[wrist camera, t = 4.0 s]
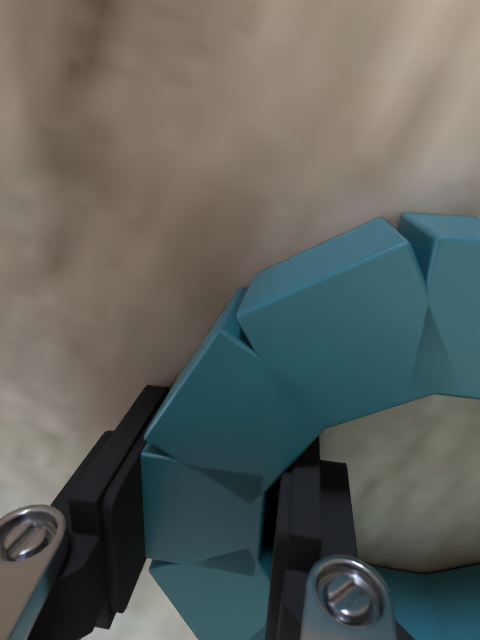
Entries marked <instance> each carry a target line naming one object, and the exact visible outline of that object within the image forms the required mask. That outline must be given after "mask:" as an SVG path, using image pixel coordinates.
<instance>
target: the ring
mask: <svg viewBox="0 0 480 640" xmlns="http://www.w3.org/2000/svg"><path fill="white" fill-rule="evenodd" d="M432 394H438V395H446V396H455V397H463V398H472V399H480V217H470V216H455V215H440V214H425V213H410V212H406V213H403V214H402V215H401V217H400V223H399V228H398V231H397V230H395V229H394V228H393V227H392V226H391V225H390V224H389V223H388V222H387V221H385V220H384V219H383V218H382V217H378V218H376V219H374V220H372V221H369V222H367V223H365V224H363V225H361V226H358V227H356V228H354V229H352V230H350V231H348V232H345V233H343V234H341V235H339V236H337V237H334V238H332V239H330V240H328V241H326V242H324V243H321V244H319V245H317V246H315V247H313V248H310V249H308V250H306V251H304V252H302V253H299V254H297V255H295V256H293V257H291V258H289V259H286V260H284V261H282V262H280V263H278V264H275V265H273V266H271V267H269V268H267V269H265V270H262V271H260V272H258V273H256V274H255V275H254V277H253V279H252V282H251V284H250V286H249V288H248V289H246V288H245V287H239V288H238V290H237V291H236V293H235V294H234V295H233V297H232V298H231V300H230V301H229V303H228V304H227V306H226V307H225V309H224V310H223V312H222V313H221V315H220V316H219V317H218V319H217V320H216V322H215V323H214V325H213V326H212V328H211V329H210V331H209V332H208V334H207V335H206V336H205V338H204V339H203V341H202V342H201V344H200V345H199V347H198V348H197V350H196V351H195V353H194V354H193V355H192V357H191V358H190V360H189V361H188V363H187V364H186V366H185V367H184V369H183V370H182V372H181V373H180V375H179V376H178V378H177V380H176V381H175V383H174V385H173V386H172V388H171V390H170V391H169V393H168V395H167V396H166V398H165V400H164V401H163V403H162V405H161V407H160V408H159V410H158V412H157V413H156V415H155V417H154V418H153V420H152V422H151V423H150V425H149V427H148V428H147V430H146V432H145V433H144V439H145V441H147V443H146V445H145V447H144V449H143V450H142V452H141V477H142V497H143V517H144V537H145V557H146V558H149V559H153V560H152V562H151V565H150V567H149V572H150V574H151V575H152V577H153V578H154V579H155V581H156V582H157V583H158V585H159V586H160V588H161V589H162V590H163V592H164V593H165V594H166V596H167V597H168V599H169V600H170V601H171V603H172V604H173V605H174V607H175V608H176V610H177V611H178V612H179V614H180V615H181V616H182V618H183V619H184V621H185V622H186V623H187V625H188V626H189V627H190V629H191V630H192V632H193V633H194V634H195V636H196V637H197V638H198V640H265V631H266V621H267V610H268V600H269V589H270V579H271V568H272V558H273V547H274V537H275V526H276V515H277V505H278V494H279V492H278V490H277V488H276V486H275V485H274V483H275V482H276V481H277V480H278V478H279V477H280V476H281V475H282V473H284V472H285V471H286V470H287V469H288V468H289V467H290V466H291V465H292V464H293V462H294V461H295V460H296V459H297V458H298V457H299V456H300V455H301V454H302V453H303V452H304V451H305V450H306V449H307V448H308V446H309V445H310V444H311V443H312V442H313V441H314V440H315V439H316V438H317V437H318V436H319V435H320V434H321V433H322V432H323V430H324V429H326V428H329V427H332V426H335V425H338V424H342V423H345V422H348V421H351V420H354V419H357V418H360V417H363V416H367V415H370V414H373V413H376V412H379V411H382V410H385V409H389V408H392V407H395V406H398V405H401V404H404V403H407V402H410V401H414V400H417V399H420V398H423V397H426V396H429V395H432ZM372 567H373V568H374V569H375V570H376V571H377V572H378V573H379V574H380V575H381V576H382V577H383V578H384V580H385V582H386V584H387V585H388V587H389V589H390V591H391V595H392V599H393V603H394V614H395V620H396V621H397V622H398V623H399V624H400V625H401V626H402V627H403V628H404V629H405V630H406V631H407V632H408V633H409V634H410V635H411V636H412V637H413V638H414V639H415V640H480V564H478V565H473V566H468V567H463V568H458V569H453V570H448V571H443V572H437V573H432V574H427V575H423V574H417V573H411V572H405V571H399V570H393V569H387V568H381V567H376V566H372Z"/></svg>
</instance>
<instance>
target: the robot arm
mask: <svg viewBox="0 0 480 640" xmlns="http://www.w3.org/2000/svg"><path fill="white" fill-rule="evenodd" d="M169 391H170V390H169V388H168V387H161V386H153V385H147V386H146V387H145V388H144V390H143V391H142V392H141V394H140V395H139V397H138V398H137V399H136V401H135V402H134V404H133V405H132V407H131V408H130V409H129V411H128V412H127V414H126V415H125V416H124V418H123V419H122V421H121V422H120V424H119V425H118V426H117V428H116V429H115V431H110V430H109V431H106V432H105V433H104V434H103V435H102V436H101V437H100V439H99V440H98V441H97V443H96V444H95V446H94V447H93V448H92V450H91V451H90V452H89V454H88V455H87V456H86V458H85V459H84V460H83V462H82V463H81V464H80V466H79V467H78V469H77V470H76V471H75V473H74V474H73V475H72V477H71V478H70V479H69V481H68V482H67V483H66V485H65V486H64V487H63V489H62V490H61V491H60V493H59V494H58V496H57V497H56V498H55V500H54V501H53V502H52V504H51V505H50V506H48V505H30V506H26V507H22V508H19V509H17V510H15V511H12V512H10V513H8V514H6V515H5V516H3V517H2V518H1V519H0V640H81V638H83V637H85V636H86V635H88V634H90V633H91V632H92V631H93V629H94V627H99V628H104V629H110V626H111V624H112V621H113V619H114V617H115V614H116V612H118V613H123V612H124V611H125V610H126V607H127V605H128V603H129V600H130V598H131V595H132V593H133V590H134V588H135V585H136V583H137V581H138V578H139V576H140V573H141V571H142V568H143V566H144V563H145V561H146V557H145V537H144V517H143V497H142V477H141V452H142V450H143V449H144V447H145V445H146V443H147V441H145V439H144V433H145V432H146V430H147V428H148V427H149V425H150V423H151V422H152V420H153V418H154V417H155V415H156V413H157V412H158V410H159V408H160V407H161V405H162V403H163V401H164V400H165V398H166V396H167V395H168V393H169ZM265 640H415V639H414V638H413V637H412V636H411V635H410V634H409V633H408V632H407V631H406V630H405V629H404V628H403V627H402V626H401V625H400V624H399V623H398V622H397V621H396V620H395V614H394V603H393V599H392V595H391V591H390V589H389V587H388V585H387V584H386V582H385V580H384V578H383V577H382V576H381V575H380V574H379V573H378V572H377V571H376V570H375V569H374V568H373V567H372V566H370V565H369V564H367V563H366V562H364V561H363V560H360V559H358V556H357V547H356V539H355V530H354V521H353V513H352V504H351V496H350V487H349V479H348V470H347V465H346V463H339V462H332V461H325V460H320V454H319V436H318V437H317V438H316V439H315V440H314V441H313V442H312V443H311V444H310V445H309V446H308V448H307V449H306V450H305V451H304V452H303V453H302V454H301V455H300V456H299V457H298V458H297V459H296V460H295V461H294V462H293V464H292V465H291V466H290V467H289V468H288V469H287V470H286V471H285V472H284V473H282V475H281V476H280V485H279V494H278V505H277V515H276V526H275V537H274V547H273V558H272V568H271V579H270V589H269V600H268V610H267V621H266V631H265Z"/></svg>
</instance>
